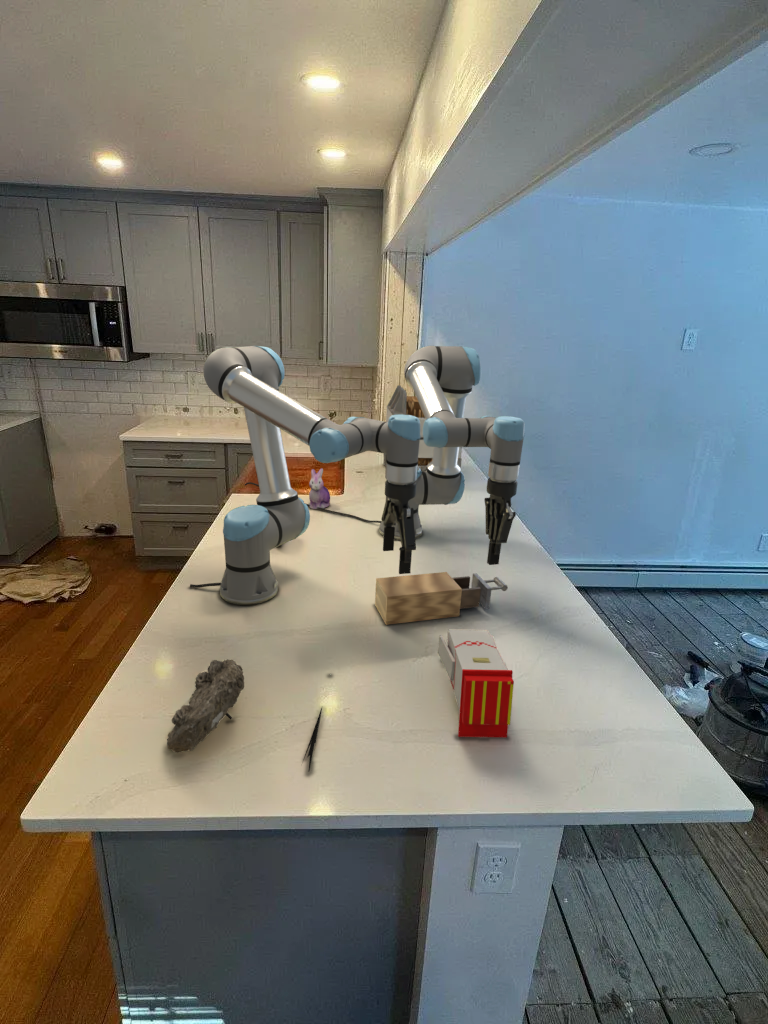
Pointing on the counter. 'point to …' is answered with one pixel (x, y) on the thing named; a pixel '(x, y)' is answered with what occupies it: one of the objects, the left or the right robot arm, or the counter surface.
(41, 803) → the counter surface
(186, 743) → the fossil
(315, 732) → the feather
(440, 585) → the wooden block
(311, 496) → the figurine
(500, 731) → the toy
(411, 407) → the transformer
